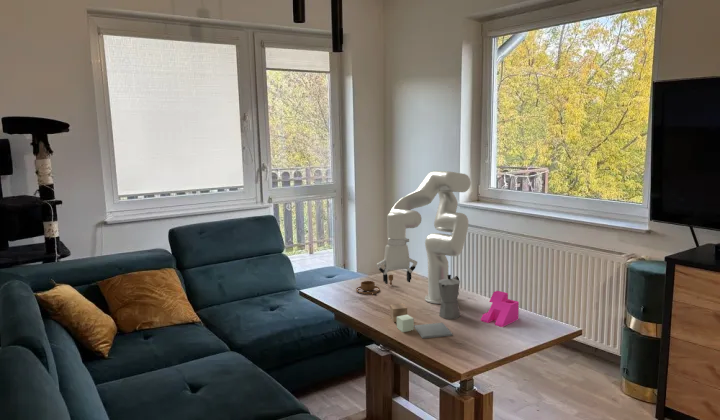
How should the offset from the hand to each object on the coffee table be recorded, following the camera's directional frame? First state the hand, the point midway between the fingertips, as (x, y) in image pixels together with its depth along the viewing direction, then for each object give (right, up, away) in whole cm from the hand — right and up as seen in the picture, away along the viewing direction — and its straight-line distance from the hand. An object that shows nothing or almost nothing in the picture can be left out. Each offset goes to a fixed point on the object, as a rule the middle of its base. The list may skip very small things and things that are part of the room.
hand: (397, 282), depth 218 cm
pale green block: (+3, -18, -8) cm, 20 cm away
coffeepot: (+23, -15, +6) cm, 29 cm away
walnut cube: (+1, -16, +3) cm, 17 cm away
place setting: (-8, -11, +44) cm, 46 cm away
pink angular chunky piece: (+42, -16, -2) cm, 45 cm away
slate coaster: (+13, -18, -11) cm, 25 cm away
